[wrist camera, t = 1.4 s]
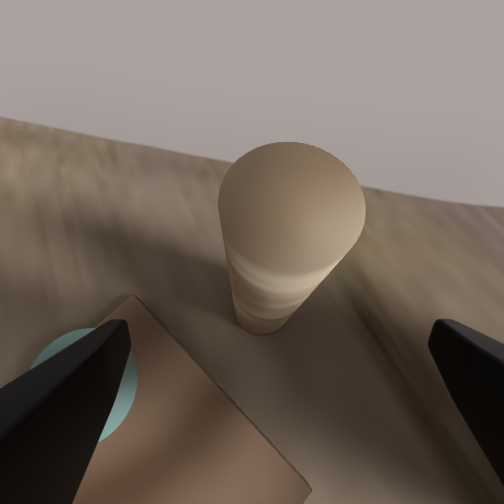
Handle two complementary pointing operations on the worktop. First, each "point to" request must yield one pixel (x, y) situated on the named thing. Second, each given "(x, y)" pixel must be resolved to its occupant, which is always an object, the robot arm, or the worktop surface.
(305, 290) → the pin loose
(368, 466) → the worktop surface
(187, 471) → the board
